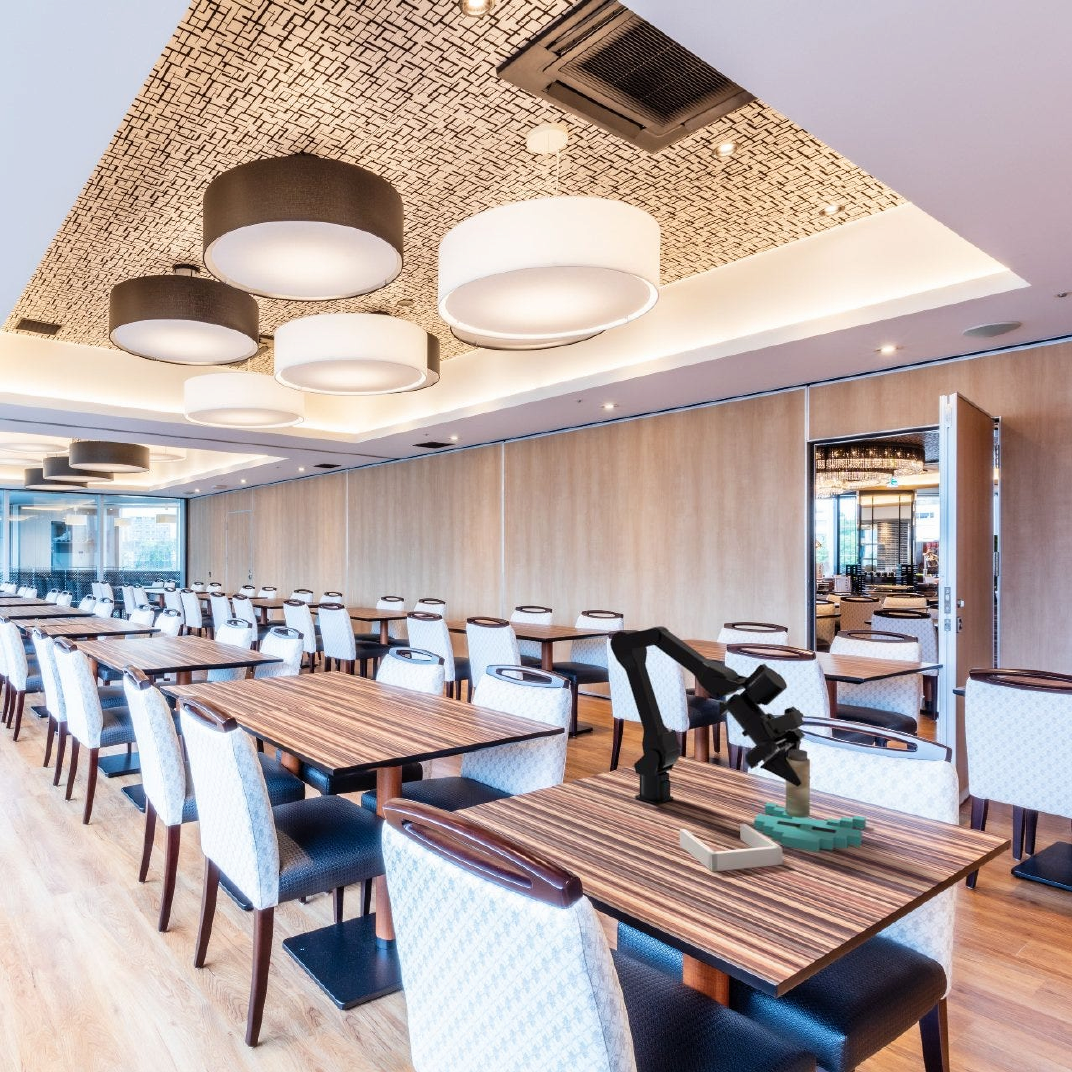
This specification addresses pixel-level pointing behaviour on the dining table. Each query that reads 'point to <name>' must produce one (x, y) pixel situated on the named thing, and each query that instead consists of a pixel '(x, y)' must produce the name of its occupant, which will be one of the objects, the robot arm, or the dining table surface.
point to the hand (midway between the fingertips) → (804, 782)
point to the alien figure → (809, 830)
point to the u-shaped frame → (735, 851)
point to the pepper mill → (799, 794)
